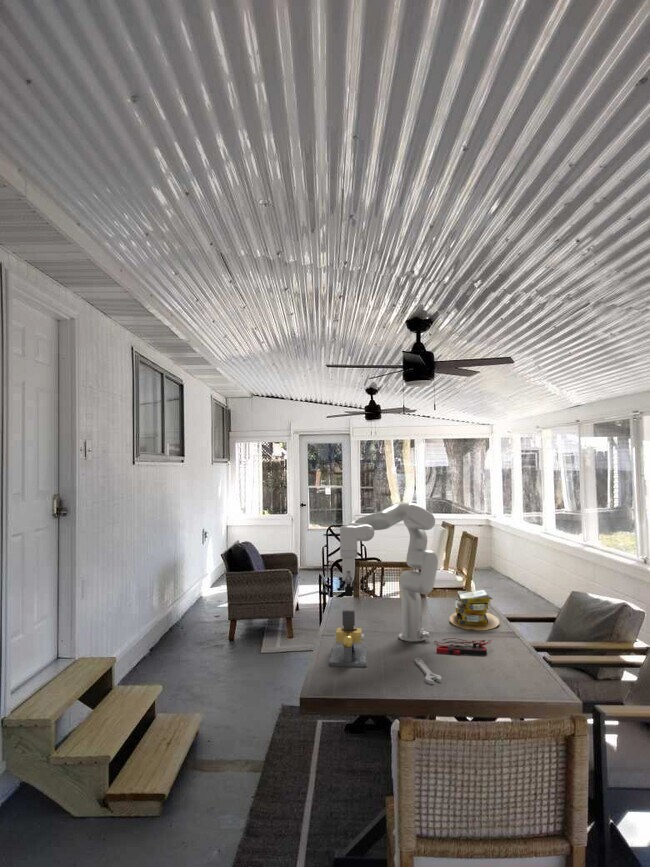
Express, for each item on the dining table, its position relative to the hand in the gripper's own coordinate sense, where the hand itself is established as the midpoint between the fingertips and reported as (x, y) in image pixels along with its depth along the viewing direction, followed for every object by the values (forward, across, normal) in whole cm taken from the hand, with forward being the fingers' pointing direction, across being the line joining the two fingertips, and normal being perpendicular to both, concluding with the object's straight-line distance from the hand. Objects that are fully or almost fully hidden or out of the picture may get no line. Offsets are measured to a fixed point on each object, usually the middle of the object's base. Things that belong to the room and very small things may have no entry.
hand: (349, 593), depth 239 cm
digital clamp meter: (+28, -15, +50) cm, 59 cm away
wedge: (+19, +1, 0) cm, 19 cm away
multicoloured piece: (+26, +1, 0) cm, 26 cm away
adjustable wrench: (+27, +17, +32) cm, 45 cm away
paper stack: (+27, -55, +62) cm, 87 cm away
